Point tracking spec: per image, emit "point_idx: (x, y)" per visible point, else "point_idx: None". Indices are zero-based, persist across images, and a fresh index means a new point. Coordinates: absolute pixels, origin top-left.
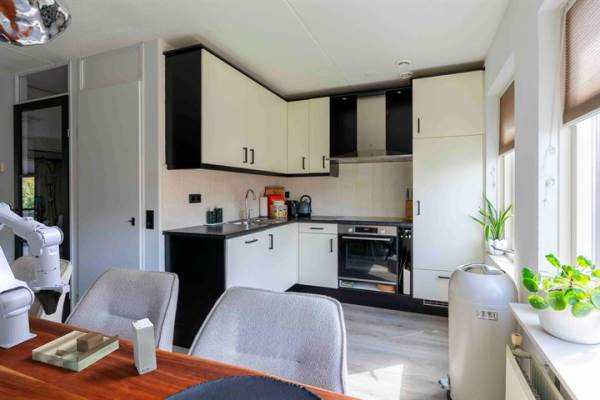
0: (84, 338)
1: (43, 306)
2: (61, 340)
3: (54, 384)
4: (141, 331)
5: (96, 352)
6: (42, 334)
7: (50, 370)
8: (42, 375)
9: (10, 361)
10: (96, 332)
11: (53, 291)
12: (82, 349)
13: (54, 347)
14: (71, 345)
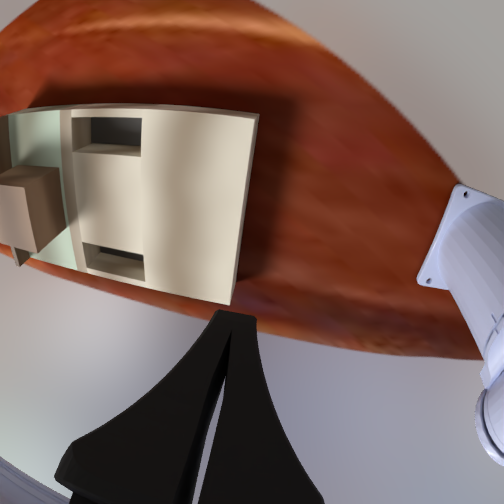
0: (7, 198)
1: (239, 372)
2: (201, 225)
3: (35, 40)
4: None
5: None
6: (404, 293)
7: (103, 75)
8: (102, 45)
9: (349, 86)
10: (17, 246)
11: (76, 498)
12: (29, 169)
13: (168, 165)
14: (114, 196)
